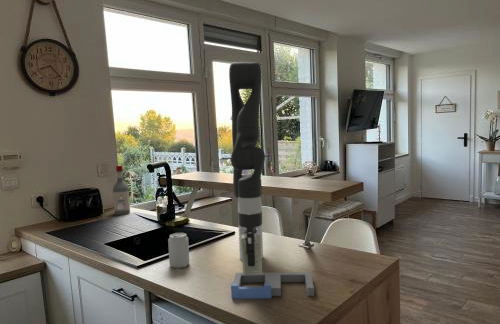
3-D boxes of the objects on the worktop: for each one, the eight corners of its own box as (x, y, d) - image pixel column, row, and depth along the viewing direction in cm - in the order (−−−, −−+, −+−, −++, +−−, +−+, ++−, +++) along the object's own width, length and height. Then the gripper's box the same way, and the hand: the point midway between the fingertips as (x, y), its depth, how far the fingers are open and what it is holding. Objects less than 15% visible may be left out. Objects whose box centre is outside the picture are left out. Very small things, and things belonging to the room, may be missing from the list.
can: (167, 263, 144) (166, 233, 142) (187, 260, 146) (185, 230, 145) (171, 270, 137) (170, 238, 136) (191, 266, 140) (190, 235, 138)
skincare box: (261, 269, 122) (260, 233, 120) (262, 274, 117) (261, 237, 116) (242, 270, 121) (240, 234, 120) (242, 275, 117) (240, 237, 116)
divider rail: (236, 280, 126) (235, 268, 126) (310, 279, 125) (310, 267, 124) (231, 298, 113) (231, 285, 112) (314, 298, 111) (314, 285, 111)
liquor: (130, 214, 230) (126, 166, 227) (114, 215, 227) (111, 167, 224) (130, 211, 239) (126, 164, 236) (114, 212, 236) (111, 165, 233)
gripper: (240, 205, 125) (242, 255, 126) (235, 216, 111) (238, 271, 112) (262, 205, 124) (264, 255, 126) (261, 215, 110) (263, 271, 112)
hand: (251, 262), depth 119 cm, fingers closed on skincare box, 4 cm apart
